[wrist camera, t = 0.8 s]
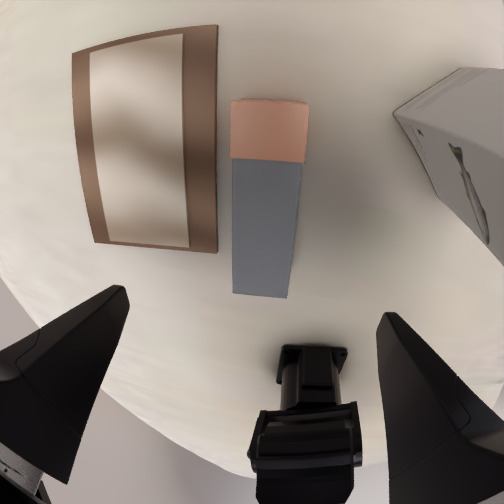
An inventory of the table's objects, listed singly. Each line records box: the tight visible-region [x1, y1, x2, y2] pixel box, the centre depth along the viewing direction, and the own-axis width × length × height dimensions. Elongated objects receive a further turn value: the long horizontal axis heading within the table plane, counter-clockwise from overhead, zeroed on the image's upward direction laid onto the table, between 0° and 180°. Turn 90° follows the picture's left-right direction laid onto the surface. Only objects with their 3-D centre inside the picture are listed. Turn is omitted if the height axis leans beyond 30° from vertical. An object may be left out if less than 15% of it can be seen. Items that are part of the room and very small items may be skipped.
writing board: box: [72, 25, 218, 254], centre depth 18 cm, size 16×11×1 cm
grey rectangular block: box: [230, 99, 309, 298], centre depth 17 cm, size 12×4×4 cm, turn 178°
